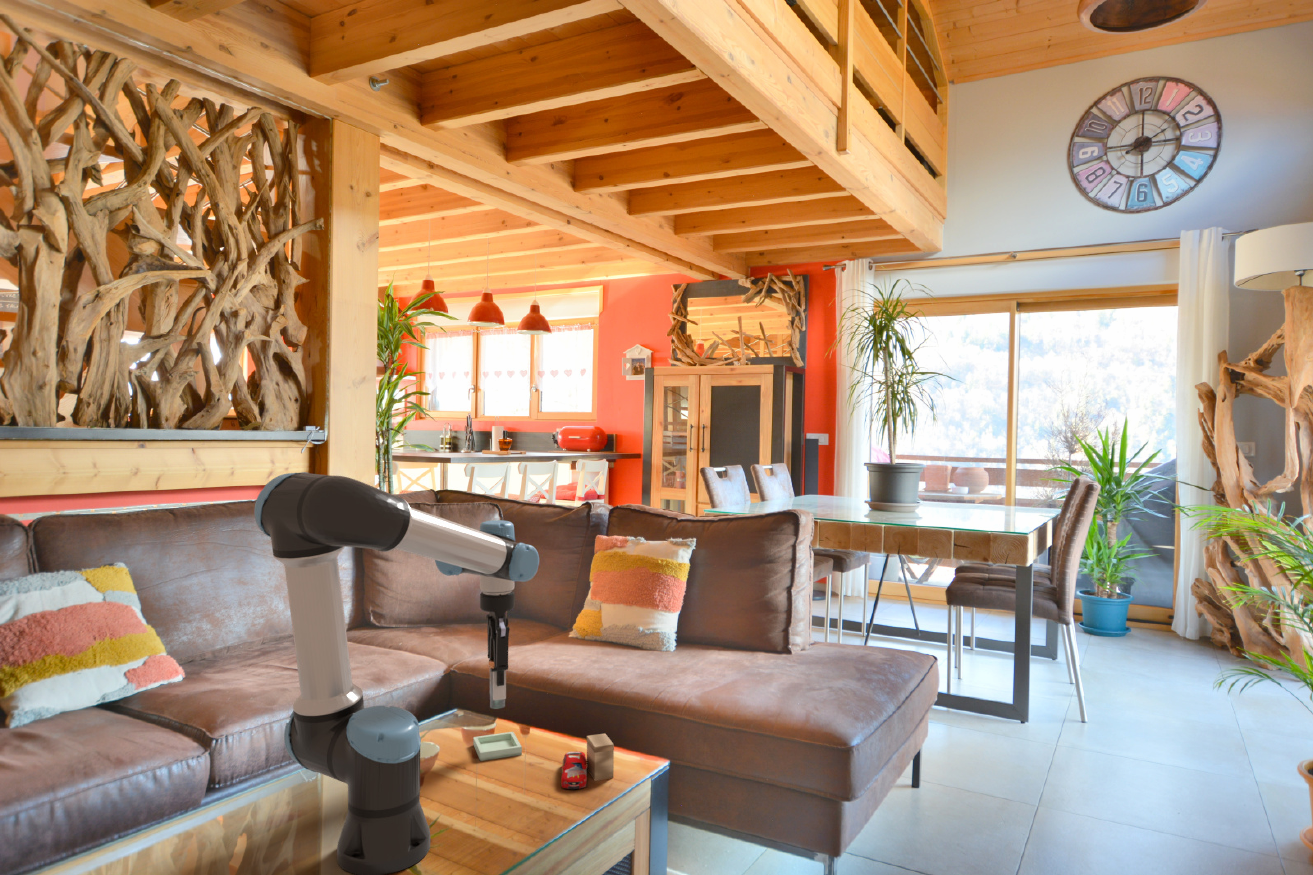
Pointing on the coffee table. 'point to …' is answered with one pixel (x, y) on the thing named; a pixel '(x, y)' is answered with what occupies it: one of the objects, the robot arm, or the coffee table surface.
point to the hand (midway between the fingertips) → (497, 695)
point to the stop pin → (493, 703)
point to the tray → (497, 746)
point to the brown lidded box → (600, 756)
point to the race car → (574, 770)
